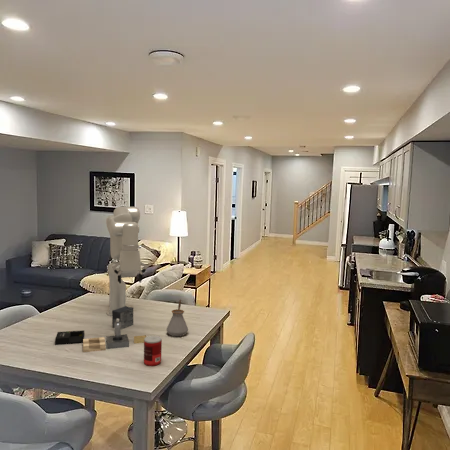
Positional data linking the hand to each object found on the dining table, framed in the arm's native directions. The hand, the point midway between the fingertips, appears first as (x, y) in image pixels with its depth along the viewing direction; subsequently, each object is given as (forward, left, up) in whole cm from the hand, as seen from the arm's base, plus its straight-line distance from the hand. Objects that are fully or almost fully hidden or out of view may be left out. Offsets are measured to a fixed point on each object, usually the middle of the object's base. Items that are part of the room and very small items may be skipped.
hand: (129, 282), depth 204 cm
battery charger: (-8, -28, -31) cm, 43 cm away
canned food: (+27, +7, -31) cm, 42 cm away
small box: (-23, -1, -31) cm, 38 cm away
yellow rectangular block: (+2, +5, -30) cm, 31 cm away
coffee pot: (-9, +27, -31) cm, 42 cm away
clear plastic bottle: (+2, -6, -30) cm, 31 cm away
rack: (+3, -17, -30) cm, 35 cm away
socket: (+2, -6, -30) cm, 31 cm away
